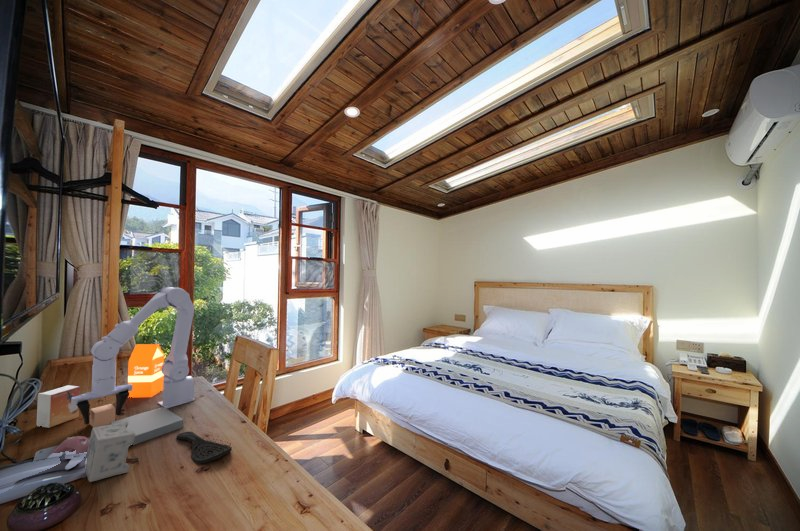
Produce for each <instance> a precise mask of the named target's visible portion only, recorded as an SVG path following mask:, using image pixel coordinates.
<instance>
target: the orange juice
mask: <svg viewBox="0 0 800 531" xmlns="http://www.w3.org/2000/svg"><path fill="white" fill-rule="evenodd" d="M164 363H165V354H164V352H163V350H162V349H161V346H160V344H159V343H157V344H156V343H154V344H153V343H151V344H149V343H148V344H146V343H145V344H144V343H143V344H139V343H138V344H135V346H134V348H133V351H132V352H131V355H130V357H129V359H128V369H127V372H128V373H127V374H128V375H127V384H132V385H133V388H132V391H128V392H129V396H128V398H127V399H129V397H130V398H131V397H132V399H133V398H153V397H155V395H158V394H159V393H161V392H163V379H164V377H165V375H164V374H163V373H162V366H163V364H164ZM160 391H161V392H160Z"/></svg>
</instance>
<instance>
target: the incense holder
mask: <svg viewBox="0 0 800 531" xmlns="http://www.w3.org/2000/svg"><path fill="white" fill-rule="evenodd" d="M127 426H128V422H123V423H116V424H111V425H110V424H108V425H105V426H99V427H92V429H91V432H90V436H89V446H88V450H87V454H86V457H85V458H87V464H86V470H85V473H86V477H87V480H88V482H89V483H92V482H95V481H96V482H97V481H99V480H103V479H107V478H110V477H114V476H117V475H122V474H128V473H129V471H130V465H129V464H128V463H127V458H128V457H127V456H128V452H129V445H131V444H133V442H134V440H135V432H129V431H128V430H127Z"/></svg>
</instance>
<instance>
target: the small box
mask: <svg viewBox="0 0 800 531" xmlns="http://www.w3.org/2000/svg"><path fill="white" fill-rule="evenodd" d="M80 389H81V387H80V386H77V385H68V384H67V385H64V386H62V387H58V388H55V389H51V390H47V391H44V392H39V393H38V394H37V402H36V403H37V404H36V405H37V406H36V409H37V410H36V425H37V427H40V426H42V427H41V428H49V429H50V428H53V427H55V426H57V425H60V424H63V423H65V422H69V421H71V420H74V419H77V418H79V416H80V409H79V408H78V406H77V405H76V404H75V405H72V404H71V398H72V397H75V396H79V395H81V394H80V392H81V390H80Z"/></svg>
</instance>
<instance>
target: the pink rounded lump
mask: <svg viewBox="0 0 800 531" xmlns="http://www.w3.org/2000/svg"><path fill="white" fill-rule="evenodd" d="M89 441H90V438H88V437H86V436H83V435H75V436H72V437H69V436H68V437H67V438H66V439H64V440H63V441H61V443H59V445H58V446H57V447H56V448H55V449H54V450H52V451H51V453H60V452H65V451H69V452H73V451H75V450H76V454H79V453H84V452H87V450H88V446H89Z"/></svg>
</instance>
